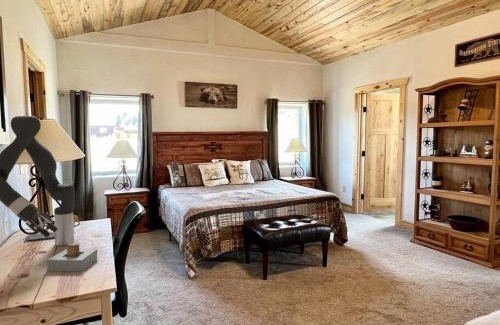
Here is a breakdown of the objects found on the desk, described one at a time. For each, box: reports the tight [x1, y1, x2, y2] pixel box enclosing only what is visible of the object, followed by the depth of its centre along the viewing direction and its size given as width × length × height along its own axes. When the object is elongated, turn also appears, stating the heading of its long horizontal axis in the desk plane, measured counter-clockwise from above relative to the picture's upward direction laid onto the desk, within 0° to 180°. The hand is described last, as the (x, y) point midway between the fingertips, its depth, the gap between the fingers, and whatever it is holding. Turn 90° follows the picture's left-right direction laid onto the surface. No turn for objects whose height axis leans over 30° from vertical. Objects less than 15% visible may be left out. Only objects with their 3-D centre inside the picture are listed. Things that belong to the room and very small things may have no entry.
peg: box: [66, 242, 80, 257], centre depth 151 cm, size 5×5×10 cm
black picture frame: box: [23, 232, 55, 244], centre depth 194 cm, size 20×2×15 cm
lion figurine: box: [73, 214, 81, 226], centre depth 221 cm, size 15×5×9 cm, turn 157°
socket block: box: [46, 248, 98, 272], centre depth 151 cm, size 15×15×5 cm
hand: (52, 233), depth 149 cm, fingers open, 8 cm apart
